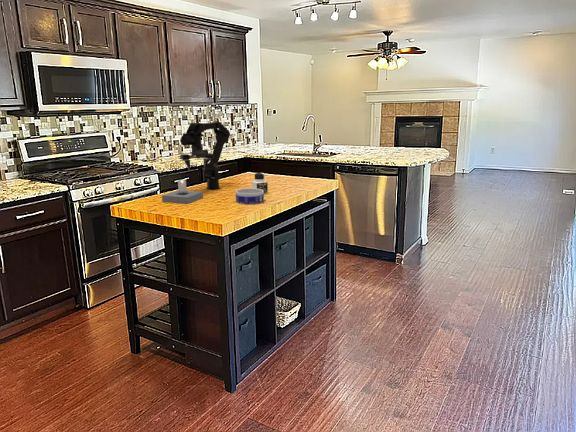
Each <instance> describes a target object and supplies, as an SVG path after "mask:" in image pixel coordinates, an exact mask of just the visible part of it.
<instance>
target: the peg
mask: <svg viewBox="0 0 576 432" xmlns="http://www.w3.org/2000/svg"><path fill="white" fill-rule="evenodd" d="M177 187H178V189H177V190H178V191H179V195H186V194H187V191H188V190H187V189H188V188H187V180H186V179H178V180H177Z"/></svg>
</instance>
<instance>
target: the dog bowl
mask: <svg viewBox="0 0 576 432" xmlns="http://www.w3.org/2000/svg"><path fill="white" fill-rule="evenodd" d="M264 196H265V194H264V191H263V190H262V189H256V188H252V187H247V188H239V189H236V190H235V203H237V202H238V203H237V204H240V203H244V204H243V205H255V204H254V203H258V204H261V203H260V202H262V203H263V202H264V200H265V199H264Z"/></svg>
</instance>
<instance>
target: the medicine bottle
mask: <svg viewBox="0 0 576 432" xmlns="http://www.w3.org/2000/svg"><path fill="white" fill-rule="evenodd" d="M251 182H252V183H251V185H252V186H251V188H256V189H262V190H263V191H264V195H266V194H269V192H268V191H269V187H268V186H269V183H268V181H266V175H265V173H264V172H257V173H256V172H255V174H254V180H252V181H251Z"/></svg>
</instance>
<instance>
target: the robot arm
mask: <svg viewBox="0 0 576 432" xmlns="http://www.w3.org/2000/svg"><path fill="white" fill-rule="evenodd" d="M207 130H213V132H214V134H215V140H216V142H215V144H214V147H213V151H212V153H210V152H209V150H208V149H203V145H202V137H204V134H203V132H205V131H207ZM230 136H231V132H230V131H229V129H228V128H227V127H225V125H223V124H222V123H221V122H220V121H211V122H204V123H202V122H190V123H189V126H188V127H187V130H186V132H185V133H184V132H183V133H182V136H181V137H180V140H179V142H180V144H181V145H182V146H190V148H191V154H186V153H182V154H180V156H179V159H180V160H182V161H183V162H184V163H185V165H186V167H187V169H188V171H189V172H191V171H192V170H191V160H190V159H203V174H204V178H205V180H206V188H207V189H208V190H210V191H212V190H220V189H221V188H220V180H221V177H222V175H221V174H220V172H219V164H218V163H219V161H220V158H221V155H222V152H223V148H224V146H225V144H226V143H227V142H228V141H229V139H230V138H231V137H230Z"/></svg>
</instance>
